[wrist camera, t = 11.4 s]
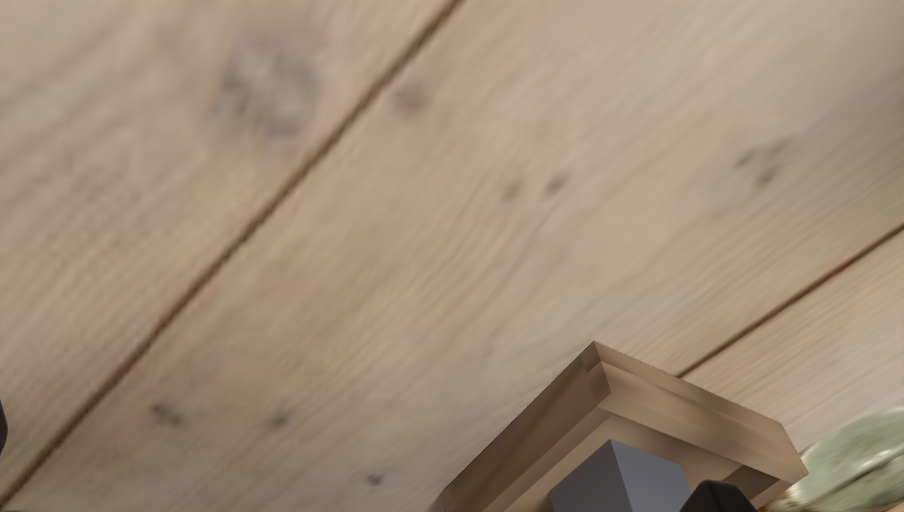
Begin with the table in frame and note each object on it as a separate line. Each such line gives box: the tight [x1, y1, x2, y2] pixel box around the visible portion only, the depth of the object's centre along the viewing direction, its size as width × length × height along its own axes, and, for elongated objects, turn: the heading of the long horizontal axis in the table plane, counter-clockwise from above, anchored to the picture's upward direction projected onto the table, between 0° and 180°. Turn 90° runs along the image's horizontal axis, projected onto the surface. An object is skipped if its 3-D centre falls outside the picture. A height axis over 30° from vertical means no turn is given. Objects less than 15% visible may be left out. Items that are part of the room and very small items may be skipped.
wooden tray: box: [443, 341, 809, 512], centre depth 30 cm, size 11×11×2 cm
